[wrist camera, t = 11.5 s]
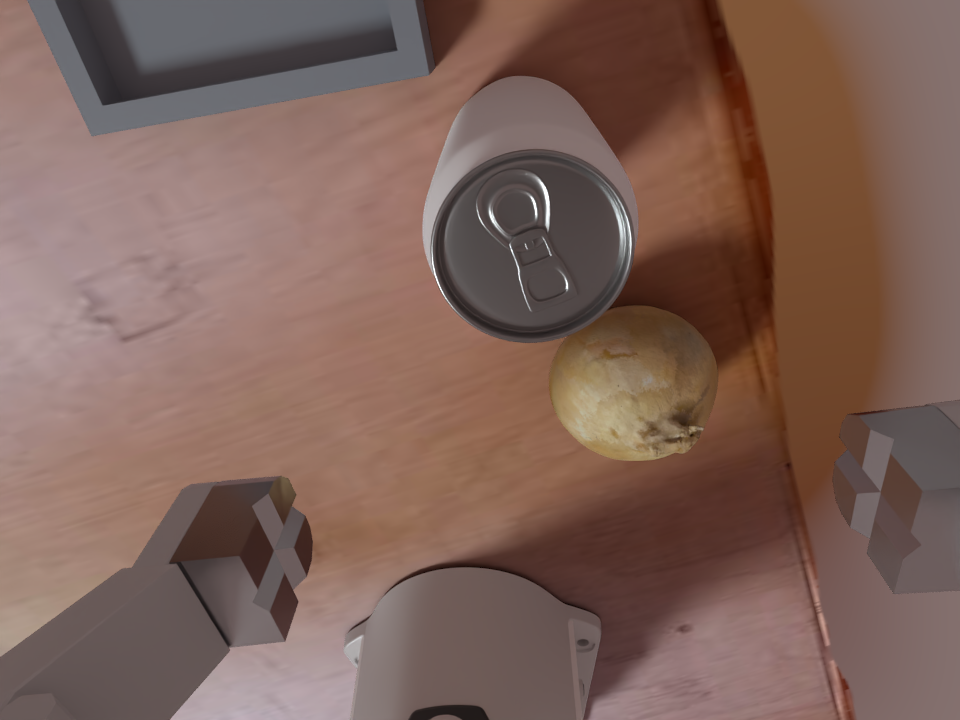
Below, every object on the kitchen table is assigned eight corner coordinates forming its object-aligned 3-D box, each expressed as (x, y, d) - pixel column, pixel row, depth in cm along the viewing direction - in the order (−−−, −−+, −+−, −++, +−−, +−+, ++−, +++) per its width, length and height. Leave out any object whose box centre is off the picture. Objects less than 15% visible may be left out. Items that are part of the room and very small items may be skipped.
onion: (572, 429, 35) (588, 522, 29) (524, 315, 31) (529, 394, 25) (713, 387, 33) (760, 476, 27) (679, 260, 29) (725, 331, 23)
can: (564, 46, 25) (609, 86, 14) (612, 192, 28) (678, 310, 18) (422, 113, 26) (371, 193, 16) (482, 245, 29) (472, 383, 19)
